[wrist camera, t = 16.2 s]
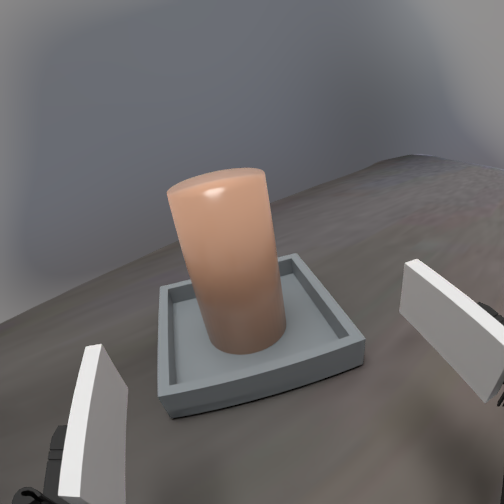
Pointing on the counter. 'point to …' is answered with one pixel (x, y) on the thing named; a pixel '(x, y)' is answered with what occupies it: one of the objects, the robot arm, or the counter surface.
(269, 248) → the light orange tall cylinder
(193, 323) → the grey tray
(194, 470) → the counter surface
